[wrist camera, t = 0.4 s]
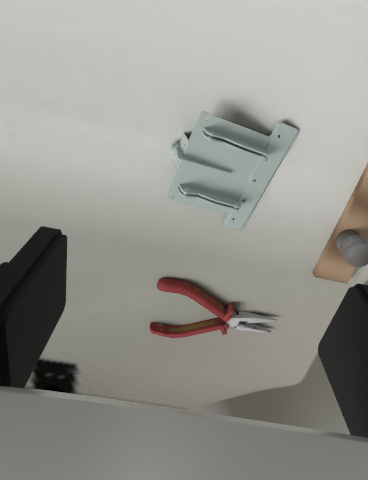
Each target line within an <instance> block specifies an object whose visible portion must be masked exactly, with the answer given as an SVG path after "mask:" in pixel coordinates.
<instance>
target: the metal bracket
mask: <svg viewBox="0 0 368 480" xmlns="http://www.w3.org/2000/svg"><path fill="white" fill-rule="evenodd" d="M206 116H208V117H209V119H208V120H207V121H205V117H206ZM298 133H299V130H298V129H297V128H294V127H292V126H289V125H287V124H285V123H282V122H278V123H277V125H276V126H275V128H274V130H273V132H272V134H271V135H270V136H266V135H264V134H261V133H258V132H256V131H253V130H251V129H248V128H245V127H243V126H240V125H238V124H235V123H233V122H230V121H227V120H225V119H222V118H220V117H217V116H214V115H212V114H209V113H207V112H204V111H202V112H201V113H200V115H199V117H198V119H197V122H196V124H195V127H194V129H193V131H192V134H191V136H190V139H188V138H187V136H186V135H185V133H183V134H182V139H181V140H180V142H179V144H178V145H177V144H175V143H174V144H173V143H171V144H170V149H173V150H174V151H176V152H175V155H174V157H173V161H174V164H175V166H176V168H177V170H176V172H175V175H174V177H173V180H172V182H171V184H170V187H169V189H168V192H167V194H166V197H167V198H168V199H172V200H176V201H180V202H184V203H188V204H191V205H195V206H199V207H203V208H207V209H211V210H215V211H219V212H223V213H226V214H228V216H227V218H226V220H225V221H224V223H223V225H224V226H225V227H226V228H230V229H235V230H239V231H240V230H242V229H243V228H244V227H245V225H246V224H247V222H248V220H249V218H250V217H251V215H252V213H253V212H254V211H253V209H254V207H255V205H256V203H257V202H258V200H259V198H260V197H261V195H262V193H263V191H264V190H265V188H266V186H267V184H268V183H269V181H270V179H271V177H272V176H273V174H274V172H275V171H276V169H277V167H278V165H279V164H280V162H281V160H282V158H283V157H284V156H286V155H287V153H288V151H289V150H290V148H291V146H292V144H293V143H294V141H295V139H296V138H297V136H298ZM278 135H280V137H279V138H278ZM267 158H268V159H267ZM255 179H256V181H254V180H255ZM172 194H176V195H175V196H174V197H172ZM244 199H245V200H244ZM243 200H244V201H243ZM233 218H234V220H232V219H233Z"/></svg>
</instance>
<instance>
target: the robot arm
mask: <svg viewBox="0 0 368 480" xmlns="http://www.w3.org/2000/svg"><path fill="white" fill-rule="evenodd" d="M66 267H67V236H66V235H62V232H61V230H59V229H54V228H48V227H40V228H39V229H38V230H37V232H36V233H35V234H34V235H33V236H32V237H31V238H30V239H29V241H28V242H27V243H26V244H25V245H24V246H23V247H22V248H21V250H20V251H19V252H18V253H17V254H16V255H15V256H14V257H13V259H12V260H11V261H10V262H9V263H8V262H4V263H2V264H1V265H0V480H368V285H363V284H356V285H355V286H354V287H351V288H349V289H348V291H347V293H346V295H345V297H344V298H343V300H342V302H341V304H340V306H339V308H338V310H337V311H336V313H335V315H334V317H333V319H332V321H331V323H330V324H329V326H328V328H327V330H326V332H325V334H324V336H323V337H322V339H321V341H320V343H319V346H318V354H319V357H320V359H321V362H322V364H323V367H324V369H325V372H326V374H327V377H328V379H329V382H330V384H331V387H332V389H333V391H334V394H335V397H336V399H337V402H338V404H339V407H340V409H341V412H342V414H343V417H344V419H345V422H346V424H347V427H348V429H349V432H350V434H351V435H347V434H341V433H334V432H327V431H321V430H315V429H308V428H302V427H295V426H289V425H282V424H275V423H270V422H262V421H256V420H250V419H243V418H237V417H230V416H223V415H217V414H209V413H203V412H197V411H190V410H183V409H176V408H169V407H162V406H156V405H149V404H142V403H135V402H128V401H121V400H114V399H107V398H101V397H93V396H85V395H78V394H70V393H62V392H54V391H46V390H39V389H28V388H24V387H25V385H26V383H27V381H28V379H29V377H30V375H31V373H32V371H33V369H34V367H35V365H36V364H37V362H38V360H39V358H40V356H41V354H42V352H43V350H44V348H45V346H46V344H47V342H48V340H49V338H50V336H51V334H52V332H53V330H54V328H55V327H56V325H57V323H58V321H59V319H60V317H61V315H62V313H63V311H64V307H65V303H66Z"/></svg>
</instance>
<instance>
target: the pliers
mask: <svg viewBox="0 0 368 480" xmlns="http://www.w3.org/2000/svg"><path fill="white" fill-rule="evenodd" d="M157 288H158V289H159V290H161V291H165V292H172V293H179V294H183V295H185V296H188V297H190V298H191V299H193V300H194V301H196V302H197V303H199V304H200V305H202V306H203V307H205V308H206V309H208V310H209V311H211V312H212V313H214V314H215V315H217V316H218V318H213V319H209V320H204V321H200V322H195V323H191V324H186V325H180V326H170V325H165V324H159V323H154V322H151V324H150V331H151V333H153V334H155V335H160V336H165V337H170V338H180V337H187V336H192V335H196V334H201V333H206V332H210V331H215V330H221V332H222V335H225V334H227V331H226V329H228V327H235V329H238V330H243V331H256V332H271V330H268V329H266V328H264V327H261V326H259V325H257V324H254V323H261V322H272V321H277V319H274V318H270V317H266V316H262V315H258V314H254V313H250V312H242V311H238V315H237V313H236V312H234V304H233V303H232V302H230V303H229V304H227V305H226V306H224V305H223V304H221V303H220V302H218V301H217V300H216V299H214V298H213V297H211V296H210V295H208V294H207V293H205V292H204V291H203V290H201V289H200V288H198V287H197V286H195V285H193V284H191V283H189V282H187V281H184V280H177V279H169V278H161V279H159V281H158V282H157ZM239 321H243V322H239Z"/></svg>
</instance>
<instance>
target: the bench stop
mask: <svg viewBox="0 0 368 480" xmlns="http://www.w3.org/2000/svg"><path fill="white" fill-rule="evenodd" d="M367 264H368V164H367V166H366V168H365V170H364V172H363V174H362V176H361V178H360V180H359V182H358V184H357V186H356V188H355V190H354V192H353V194H352V196H351V198H350V200H349V202H348V204H347V205H346V207H345V209H344V211H343V213H342V215H341V217H340V219H339V221H338V223H337V225H336V227H335V229H334V231H333V233H332V235H331V237H330V239H329V241H328V243H327V245H326V247H325V249H324V251H323V253H322V255H321V257H320V259H319V261H318V262H317V264H316V266H315V268H314V270H313V274H314V276H315V277H317V278H322V279H327V280H332V281H337V282H342V283H348V281H349V279H350V277H351V276H352V274H353V272H354V271H355V269H356V267H362V266H365V265H367Z"/></svg>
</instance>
